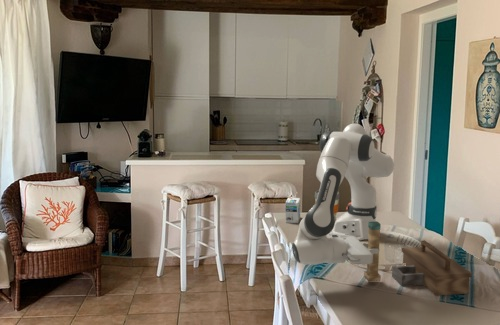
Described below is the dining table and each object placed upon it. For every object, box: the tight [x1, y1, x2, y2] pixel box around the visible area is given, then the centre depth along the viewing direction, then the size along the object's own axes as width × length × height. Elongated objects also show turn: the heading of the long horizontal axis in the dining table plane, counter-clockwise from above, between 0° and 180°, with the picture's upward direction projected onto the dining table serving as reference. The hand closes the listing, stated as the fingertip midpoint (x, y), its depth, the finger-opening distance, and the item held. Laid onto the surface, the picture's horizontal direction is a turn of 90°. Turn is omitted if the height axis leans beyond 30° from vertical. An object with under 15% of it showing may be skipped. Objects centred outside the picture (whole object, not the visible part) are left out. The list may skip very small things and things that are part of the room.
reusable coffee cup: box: [314, 189, 340, 221], centre depth 253 cm, size 13×12×15 cm
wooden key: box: [363, 220, 382, 283], centre depth 178 cm, size 4×4×21 cm
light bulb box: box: [285, 196, 301, 224], centre depth 255 cm, size 11×7×11 cm, turn 169°
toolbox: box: [391, 240, 473, 296], centre depth 181 cm, size 21×27×12 cm
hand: (375, 248), depth 178 cm, fingers closed on wooden key, 3 cm apart
